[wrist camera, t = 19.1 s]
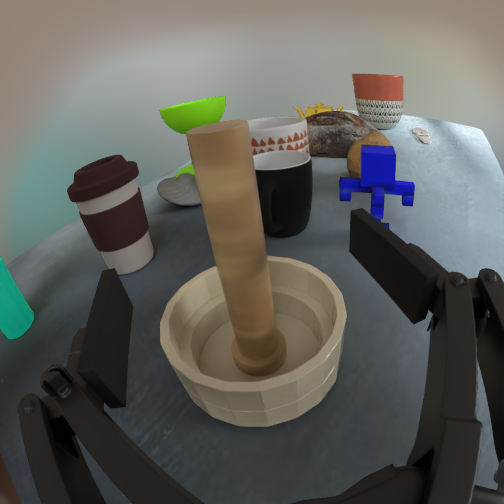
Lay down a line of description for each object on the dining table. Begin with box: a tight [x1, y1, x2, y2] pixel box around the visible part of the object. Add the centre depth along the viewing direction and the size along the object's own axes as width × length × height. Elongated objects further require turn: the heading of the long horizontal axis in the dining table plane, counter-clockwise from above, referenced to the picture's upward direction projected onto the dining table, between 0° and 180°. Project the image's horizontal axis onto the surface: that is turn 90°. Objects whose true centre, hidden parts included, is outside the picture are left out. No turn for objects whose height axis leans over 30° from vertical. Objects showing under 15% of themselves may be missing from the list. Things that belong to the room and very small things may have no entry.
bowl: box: [160, 256, 347, 427], centre depth 22 cm, size 13×13×6 cm
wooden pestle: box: [186, 120, 287, 376], centre depth 19 cm, size 4×4×18 cm
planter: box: [352, 74, 403, 129], centre depth 92 cm, size 20×20×21 cm
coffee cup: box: [67, 155, 154, 275], centre depth 37 cm, size 10×10×15 cm
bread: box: [305, 111, 391, 158], centre depth 76 cm, size 27×32×10 cm
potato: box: [347, 132, 390, 178], centre depth 50 cm, size 9×16×9 cm, turn 145°
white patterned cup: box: [248, 116, 310, 156], centre depth 53 cm, size 14×14×13 cm
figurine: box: [339, 144, 415, 229], centre depth 34 cm, size 8×8×12 cm
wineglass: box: [160, 96, 226, 177], centre depth 67 cm, size 16×16×18 cm
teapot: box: [295, 104, 345, 118], centre depth 101 cm, size 15×14×10 cm
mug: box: [253, 150, 312, 237], centre depth 39 cm, size 12×9×10 cm
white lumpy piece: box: [413, 128, 432, 144], centre depth 86 cm, size 6×28×1 cm, turn 157°
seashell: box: [157, 173, 201, 206], centre depth 56 cm, size 12×6×10 cm
